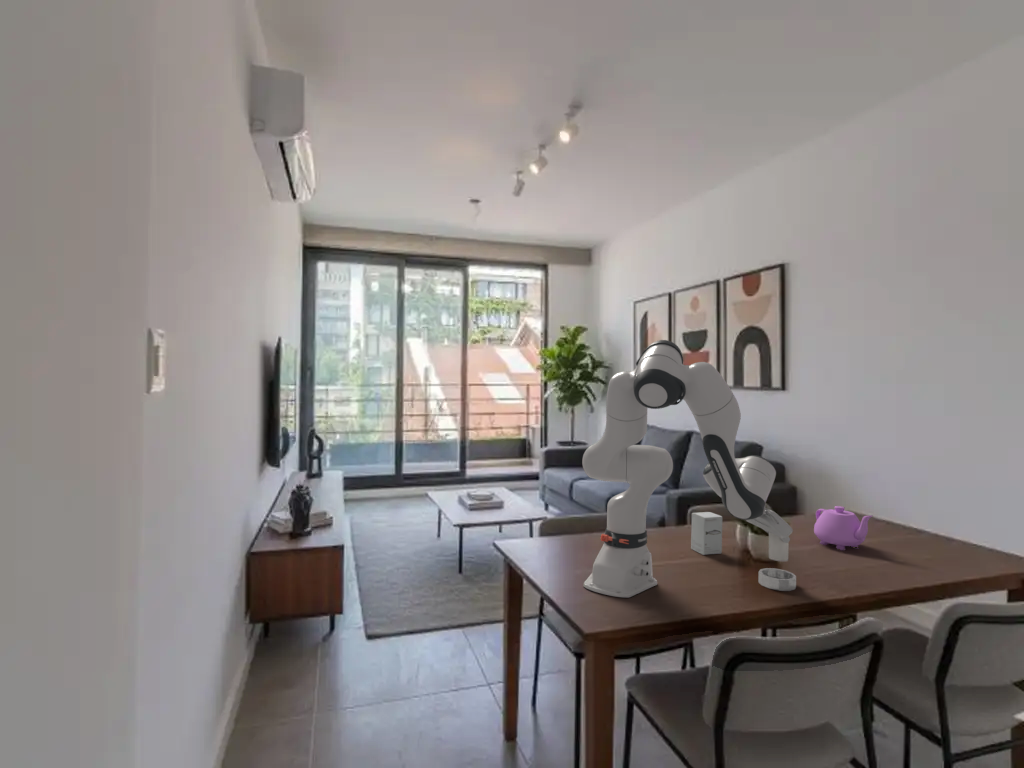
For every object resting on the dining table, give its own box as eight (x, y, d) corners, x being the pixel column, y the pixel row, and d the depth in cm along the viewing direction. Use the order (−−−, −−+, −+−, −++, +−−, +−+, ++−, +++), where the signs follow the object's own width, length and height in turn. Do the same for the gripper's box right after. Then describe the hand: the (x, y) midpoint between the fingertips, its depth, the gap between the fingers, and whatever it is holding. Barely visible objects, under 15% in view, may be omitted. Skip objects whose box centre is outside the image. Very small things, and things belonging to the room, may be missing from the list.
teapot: (887, 553, 186) (888, 512, 186) (854, 558, 181) (855, 516, 181) (829, 535, 207) (830, 499, 207) (798, 539, 201) (799, 502, 201)
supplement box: (703, 555, 182) (703, 517, 182) (690, 548, 189) (690, 512, 189) (722, 554, 184) (723, 516, 184) (709, 547, 191) (709, 511, 191)
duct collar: (792, 593, 150) (793, 582, 150) (755, 585, 155) (756, 575, 155) (797, 583, 158) (798, 572, 158) (762, 576, 163) (762, 566, 163)
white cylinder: (786, 562, 152) (786, 526, 152) (767, 559, 155) (767, 523, 155) (789, 557, 156) (790, 522, 156) (770, 554, 159) (770, 520, 159)
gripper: (776, 503, 145) (811, 540, 146) (737, 488, 165) (768, 520, 166) (760, 520, 144) (795, 557, 145) (723, 503, 165) (754, 535, 166)
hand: (780, 537), depth 156 cm, fingers closed on white cylinder, 5 cm apart
